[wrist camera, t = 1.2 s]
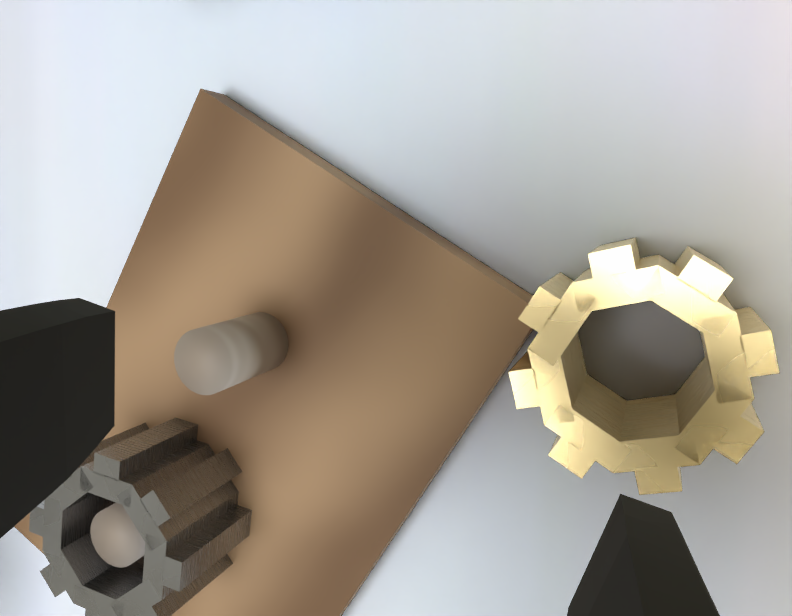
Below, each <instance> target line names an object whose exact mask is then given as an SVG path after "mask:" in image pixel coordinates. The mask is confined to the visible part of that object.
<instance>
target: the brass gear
mask: <svg viewBox="0 0 792 616" xmlns="http://www.w3.org/2000/svg"><path fill="white" fill-rule="evenodd" d="M588 257H589V262H590V267H591V268H590V269H587V270H586V271H585V272H583V273H582V274H581V275H580V276H579V277H578V278H577V279H576V280H574V281H573V280H572V279H570V278H568V277H567V276H565V275H564V274H562V273H561V272H560V273H559V274H557V275H556V276H554V277H553V278H551V279H550V280H548V281H547V282H545V283H544V284H542V285H541V286H539V288H538V289H537V291H536V292H535V294H534V295H533V297H532V298H531V300H530V302H529V303H528V305H527V306H526V308H525V309H524V311H523V312H522V314H521V315H520V317H519V318H518V319H519V320H520V321H522V322H523V323H525V324H526V325H528V326H529V327H531V328H532V329H534V330H535V331H537V332H538V334H537V335H536V337H535V338H534V340H533V341H532V343H531V344H530V346H529V347H528V351H527V352H526V353H525V354H524V355H523V356H522V358H521V359H520V360H519V361H518V362H517V363H516V364H515V365H514V366H513V367H512V369H511V370H510V371H509V376H510V381H511V385H512V390H513V394H514V399H515V403H516V408H517V409H521V408H529V407H536V406H540V408H541V413H542V417H543V422H544V425H545V426H546V427H548V428H549V429H550V430H552V431H553V432H555V433H556V434H557V437H556V439H555V441H554V443H553V446H552V448H551V450H550V452H549V456H550V457H551V458H553V459H554V460H556V461H557V462H558V463H560V464H561V465H563V466H564V467H566V468H567V469H568V470H570V471H571V472H573V473H574V474H575V475H577V476H578V477H580V478H581V479H582V478H583V476H584V475H585V474H586V472H587V471H588V470H589V469H590V467H591V466H592V465H593V463H594V462H595V461H596V462H598V463H599V464H601V465H602V466H603V467H605V468H606V469H608V470H609V471H611V472H612V473H620V472H631V471H634V472H635V477H636V481H637V486H638V491H639V495H643V494H655V493H667V492H679V491H682V481H681V468H680V467H683V466H694V465H700V464H701V463H702V462H703V461H704V459H705V458H706V457H707V456H708V455H709V453H710V452H711V451H712V450H713V449H715V450H716V451H718V452H719V453H721V454H722V455H724V456H725V457H727V458H728V459H730V460H731V461H733V462H734V463H736V464H738V462H739V461H740V460H741V459H742V458H743V456H744V455H745V454H746V453H747V452H748V451H749V449H750V448H751V447H752V446H753V445H754V443H755V442H756V441H757V440H758V439H759V438H760V436H761V435H762V434H763V433H764V430H763V428H762V425H761V423H760V421H759V419H758V417H757V415H756V412H755V410H754V408H753V406H752V404H751V402H752V401H753V400H754V395H753V390H752V385H751V380H750V377H756V376H763V375H771V374H778V373H779V368H778V362H777V357H776V352H775V347H774V342H773V337H772V332H771V330H770V329H769V327H768V326H767V325H766V324H765V323H764V322H763V321H762V320H761V318H760V317H759V316H758V315H757V314H756V313H755V312H754V311H753V309H752V308H751V307H746V308H740V309H735V310H734V308H733V307H732V306H731V304H730V303H729V301H728V300H727V299H726V297H725V296H724V294H723V292H724V291H725V289H726V288H727V287H728V285H729V284H730V283H731V281H732V280H733V278H732V277H731V276H730V275H729V274H728V273H727V272H726V271H725V270H724V269H723V268H722V267H721V266H720V265H719V264H717V263H716V262H714V261H712V260H711V259H709V258H707V257H706V256H704V255H702V254H701V253H699V252H697V251H696V250H694V249H692V248H691V247H689V246H687V248H686V249H685V250H684V252H683V253H682V254H681V256H680V257H679V259H678V260H677V261H676V263H675V264H674V263H672V262H670V261H669V260H667V259H666V258H664V257H662V256H661V255H659V254H658V255H653V256H648V257H643V258H640V255H639V250H638V246H637V241H636V238H632V239H627V240H622V241H618V242H613V243H609V244H604V245H600V246H599V247H597V248H596V249H594V250H593V251H591V252H590V253H588ZM649 300H651V301H653V302H655V303H656V304H658V305H659V306H661V307H663V308H664V309H666V310H667V311H669V312H671V313H672V314H674V315H675V316H677V317H679V318H680V319H682V320H683V321H685V322H687V323H688V324H690V325H691V326H693V327H695V328H696V329H698V330H699V331H700V335H701V340H702V344H703V349H704V354H705V357H704V358H703V360H702V361H701V362H700V363H699V365H698V366H697V367H696V369H695V370H694V371H693V372H692V374H691V375H690V376H689V378H688V379H687V380H686V381H685V383H684V384H683V385H682V387H681V388H680V389H679V391H678V392H677V393H676V394H673V395H665V396H658V397H650V398H643V399H635V400H628V401H627V400H625V399H624V398H622V397H621V396H619V395H618V394H616V393H615V392H613V391H612V390H610V389H609V388H607V387H606V386H604V385H603V384H601V383H600V382H598V381H597V380H595V379H594V378H592V377H591V376H589V375H588V374H587V371H586V367H585V362H584V357H583V353H582V348H581V343H580V339H579V334H578V330H579V329H580V327H581V326H582V324H583V323H584V322H585V320H586V319H587V317H588V316H589V314H590V313H591V311H595V310H600V309H606V308H611V307H616V306H622V305H627V304H633V303H638V302H644V301H649Z"/></svg>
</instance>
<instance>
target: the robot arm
mask: <svg viewBox="0 0 792 616" xmlns="http://www.w3.org/2000/svg"><path fill="white" fill-rule="evenodd" d="M114 426H115V311H113V310H111V309H108V308H105V307H102V306H100V305H97V304H94V303H91V302H89V301H86V300H83V299H80V298H76V299H67V300H58V301H51V302H45V303H39V304H33V305H28V306H23V307H17V308H12V309H7V310H2V311H0V538H1V537H2V536H3V535H5V534H6V533H7V532H8V531H9V530H10V529H12V528H13V527H14V526H15V525H16V524H17V523H19V522H20V521H21V520H22V519H23V518H24V517H25V516H27V515H28V514H29V513H30V512H31V511H32V510H33V509H34V508H36V507H37V506H38V505H39V504H40V503H41V502H42V501H44V500H45V499H46V498H47V497H48V496H49V495H50V494H52V493H53V492H54V491H55V490H56V489H57V488H58V487H59V486H60V485H62V484H63V483H64V482H65V481H66V480H67V479H68V478H69V477H70V476H71V475H72V474H73V473H74V471H75V470H76V469H77V468H78V467H79V466H80V465H81V464H82V463H83V462H84V461H85V460H86V458H87V457H88V456H89V455H90V454H91V453H92V452H93V450H94V449H95V448H96V447H97V446H98V445H99V443H100V442H101V441H102V440H103V439H104V438H105V436H106V435H107V434H108V433H109V432H110V431H111V429H112V428H113V427H114ZM567 616H720V615H719V613H718V611H717V609H716V607H715V605H714V602H713V600H712V598H711V596H710V594H709V592H708V590H707V588H706V586H705V583H704V581H703V579H702V577H701V575H700V573H699V570H698V568H697V566H696V564H695V562H694V560H693V557H692V555H691V553H690V551H689V549H688V546H687V544H686V542H685V540H684V538H683V536H682V533H681V531H680V529H679V527H678V525H677V523H676V521H675V519H674V517H673V515H672V513H671V512H669V511H666V510H663V509H661V508H658V507H655V506H652V505H650V504H647V503H644V502H641V501H639V500H636V499H633V498H630V497H628V496H625V495H622V494H620V496H619V499H618V501H617V503H616V505H615V507H614V509H613V512H612V514H611V516H610V518H609V520H608V523H607V525H606V527H605V529H604V531H603V533H602V536H601V538H600V540H599V542H598V544H597V547H596V549H595V551H594V553H593V555H592V558H591V560H590V562H589V564H588V566H587V568H586V571H585V573H584V575H583V577H582V579H581V582H580V584H579V586H578V588H577V590H576V592H575V595H574V597H573V599H572V601H571V603H570V606H569V608H568V614H567Z"/></svg>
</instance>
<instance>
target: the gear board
mask: <svg viewBox="0 0 792 616" xmlns="http://www.w3.org/2000/svg"><path fill="white" fill-rule="evenodd" d="M532 297H533V295H531V294H530V293H528V292H526V291H525V290H523V289H522V288H520V287H519V286H517V285H516V284H514V283H513V282H511V281H510V280H508V279H506V278H505V277H503V276H502V275H500V274H499V273H497V272H496V271H494V270H493V269H491V268H490V267H488V266H487V265H485V264H483V263H482V262H480V261H479V260H477V259H476V258H474V257H473V256H471V255H470V254H468V253H467V252H465V251H463V250H462V249H460V248H459V247H457V246H456V245H454V244H453V243H451V242H450V241H448V240H447V239H445V238H444V237H442V236H440V235H439V234H437V233H436V232H434V231H433V230H431V229H430V228H428V227H427V226H425V225H424V224H422V223H420V222H419V221H417V220H416V219H414V218H413V217H411V216H410V215H408V214H407V213H405V212H404V211H402V210H401V209H399V208H397V207H396V206H394V205H393V204H391V203H390V202H388V201H387V200H385V199H384V198H382V197H381V196H379V195H377V194H376V193H374V192H373V191H371V190H370V189H368V188H367V187H365V186H364V185H362V184H361V183H359V182H358V181H356V180H354V179H353V178H351V177H350V176H348V175H347V174H345V173H344V172H342V171H341V170H339V169H338V168H336V167H334V166H333V165H331V164H330V163H328V162H327V161H325V160H324V159H322V158H321V157H319V156H318V155H316V154H315V153H313V152H311V151H310V150H308V149H307V148H305V147H304V146H302V145H301V144H299V143H298V142H296V141H295V140H293V139H292V138H290V137H288V136H287V135H285V134H284V133H282V132H281V131H279V130H278V129H276V128H275V127H273V126H272V125H270V124H268V123H267V122H265V121H264V120H262V119H261V118H259V117H258V116H256V115H255V114H253V113H252V112H250V111H249V110H247V109H245V108H244V107H242V106H241V105H239V104H238V103H236V102H235V101H233V100H232V99H230V98H229V97H227V96H225V95H224V94H220V93H216V92H212V91H208V90H204V89H200V91H199V94H198V96H197V98H196V101H195V103H194V105H193V108H192V110H191V112H190V115H189V117H188V119H187V121H186V124H185V126H184V128H183V131H182V133H181V135H180V138H179V140H178V142H177V145H176V147H175V149H174V152H173V154H172V156H171V159H170V161H169V163H168V166H167V168H166V170H165V173H164V175H163V177H162V180H161V182H160V184H159V187H158V189H157V191H156V194H155V196H154V198H153V200H152V203H151V205H150V207H149V210H148V212H147V214H146V217H145V219H144V221H143V224H142V226H141V228H140V231H139V233H138V235H137V238H136V240H135V242H134V245H133V247H132V249H131V252H130V254H129V256H128V259H127V261H126V263H125V266H124V268H123V270H122V273H121V275H120V277H119V279H118V282H117V284H116V286H115V289H114V291H113V293H112V296H111V298H110V300H109V303H108V305H107V307H106V308H108V309H111V310H113V311H115V426H114V427H113V428H112V429H111V431H110V432H109V433H108V434H107V435H106V436H105V438H104V439H103V440H105V439H107V438H110V437H112V436H114V435H117V434H119V433H122V432H124V431H126V430H129V429H131V428H133V427H136V426H138V425H140V424H143V423H146V424H147V426H148V427H149V429H150V428H153V427H155V426H157V425H159V424H162V423H164V422H166V421H169V420H171V419H173V418H178V419H182V420H185V421H188V422H192V423H195V424H198V432H197V441H201V442H204V443H207V444H209V445H210V447H211V449H212V450H213V452H214V453H215V455H216V454H218V453H220V452H221V451H223V450H225V449H227V448H228V450H229V451H230V453H231V454H232V456H233V458H234V459H235V461H236V462H237V464H238V466H239V467H240V469H241V470H242V473H240V474H239V475H237V476H236V477H234V478H233V479H231V480H232V482H233V484H234V485H235V487H236V488H237V490H238V492H239V495H238V504H237V505H239V506H242V507H245V508H247V509H250V510H252V515H251V525H250V534H249V536H248V537H247V538H246V539H244V540H243V541H242V542H241V543H239V544H238V545H237V546H236V547H235V548H233V549H232V550H231V551H230V552H228V553H227V554H228V556H229V558H230V559H231V561H232V562H233V564H232V565H231V566H230V567H228V568H227V569H226V570H225V571H224V572H222V573H221V574H220V575H219V576H218V577H216V578H215V579H214V580H213V581H212V582H210V583H209V584H208V585H207V586H206V587H205V588H203V589H202V590H201V591H200V592H199V593H197V594H196V595H195V596H194V597H193V598H191V599H190V600H189V601H188V602H187V603H185V604H184V605H183V606H182V607H181V608H180V609H178V610H177V611H176V612H175V613H174V614H172V615H171V616H342V614H343V613H344V611H345V610H346V608H347V607H348V605H349V604H350V602H351V601H352V599H353V598H354V596H355V595H356V593H357V592H358V590H359V589H360V587H361V586H362V584H363V583H364V581H365V580H366V578H367V577H368V575H369V574H370V572H371V571H372V569H373V568H374V566H375V565H376V563H377V562H378V560H379V559H380V557H381V556H382V554H383V553H384V551H385V550H386V548H387V547H388V545H389V544H390V542H391V541H392V539H393V538H394V536H395V535H396V533H397V532H398V530H399V529H400V527H401V526H402V525H403V523H404V522H405V520H406V519H407V517H408V516H409V514H410V513H411V511H412V510H413V508H414V507H415V505H416V504H417V502H418V501H419V499H420V498H421V496H422V495H423V493H424V492H425V490H426V489H427V487H428V486H429V484H430V483H431V481H432V480H433V478H434V477H435V475H436V474H437V472H438V471H439V469H440V468H441V466H442V465H443V463H444V462H445V460H446V459H447V457H448V456H449V454H450V453H451V451H452V450H453V448H454V447H455V445H456V444H457V442H458V441H459V439H460V438H461V436H462V435H463V433H464V432H465V430H466V429H467V428H468V426H469V425H470V423H471V422H472V420H473V419H474V417H475V416H476V414H477V413H478V411H479V410H480V408H481V407H482V405H483V404H484V402H485V401H486V399H487V398H488V396H489V395H490V393H491V392H492V390H493V389H494V387H495V386H496V384H497V383H498V381H499V380H500V378H501V377H502V375H503V374H504V372H505V371H506V369H507V368H508V366H509V365H510V363H511V362H512V360H513V359H514V357H515V356H516V354H517V353H518V351H519V350H520V348H521V347H522V345H523V344H524V342H525V341H526V339H527V338H528V336H529V335H530V333H531V332H532V331H533V329H532V328H531V327H529V326H528V325H526V324H525V323H523V322H522V321H520V320H519V319H518V318H519V317H520V315H521V314H522V312H523V311H524V309H525V308H526V306H527V305H528V303H529V302H530V300H531V298H532ZM103 440H102V441H103ZM29 521H30V513H29V514H28V515H27V516H25V517H24V518H23V519H22V520H21V521H20V522H19V523H17V524H16V525H15V526H14V527H15V528H16V529H17V530H18V531H20V532H21V533H22V534H23V535H24V536H25V537H26V538H27V539H28V540H29V541H30V542H31V543H33V544H34V545H35V546H36V547H37V548H38V549H39V550H40V551H41V552H42V553H43V551H42V548H43V537H42V536H40V535H37V534H35V533H32V532H30V531H29ZM91 539H92V543H93V545H94V548H95V550H96V551H97V553H98V554H99V556H100V557H101V558H102V559H103V560H104V561H105V562H107V563H108V564H110V565H112V566H115V567H127V566H129V565H131V564H132V563H134V562H135V561H137V560H138V559H140V558H141V557H143V556H144V554H145V541H144V540H143V538H142V537H141V535H140V533H139V532H138V530H137V528H136V527H135V525H134V523H133V522H132V520H131V519H130V517H129V515H128V514H127V512H126V510H125V509H124V507H123V505H121V504H119V503H114V504H112V505H111V506H109V507H107V508H105V509H103V510H102V511H100V512H98V513H97V514H96V515H95V517H94V518H93V520H92V523H91ZM43 554H44V553H43ZM44 555H45V554H44Z"/></svg>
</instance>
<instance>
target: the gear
mask: <svg viewBox="0 0 792 616" xmlns="http://www.w3.org/2000/svg"><path fill="white" fill-rule="evenodd" d="M197 432H198V424H195V423H192V422H188V421H185V420H182V419H178V418H173V419H171V420H169V421H166V422H164V423H162V424H159V425H157V426H155V427H153V428H150V429H149V427H148V426H147V424H146V423H143V424H140V425H138V426H136V427H133V428H131V429H129V430H126V431H124V432H122V433H119V434H117V435H114V436H112V437H110V438H107V439H105V440H103V441H101V442H100V443H99V445H98V446H97V447H96V448H95V449H94V450H93V452H92V453H91V454H90V455H89V456H88V457H87V458H86V460H85V461H84V462H83V463H82V464H81V465H80V466H79V467H78V468H77V469H76V470H75V471H74V473H73V474H72V475H71V476H70V477H69V478H68V479H67V480H66V481H65V482H64V483H63V484H62V485H60V486H59V487H58V488H57V489H56V490H55V491H54V492H53V493H52V494H50V495H49V496H48V497H47V498H46V499H45V500H44V501H42V502H41V503H40V504H39V505H38V506H37V507H36V508H34V509H33V510H32V511H31V512H30V521H29V531H30V532H32V533H35V534H37V535H40V536H42V537H43V548H42V551H43V553H44V554H45V556H46V558H47V559H48V561H49V563H50V565H48V566H47V567H45V568H44V569H43V570H41V571H40V572H41V574H42V576H43V577H44V579H45V581H46V582H47V584H48V586H49V588H50V589H51V591H52V593H53V594H54V596H55V597H56V596H58V595H59V594H61V593H62V592H64V591H65V590H66V591H67V593H68V595H69V596H70V598H71V600H72V601H73V603H74V604H76V605H79V606H81V607H83V608H85V609H86V612H85V616H171V615H172V614H174V613H175V612H176V611H177V610H178V609H180V608H181V607H182V606H183V605H184V604H185V603H187V602H188V601H189V600H190V599H191V598H193V597H194V596H195V595H196V594H197V593H199V592H200V591H201V590H202V589H203V588H205V587H206V586H207V585H208V584H209V583H210V582H212V581H213V580H214V579H215V578H216V577H218V576H219V575H220V574H221V573H222V572H224V571H225V570H226V569H227V568H228V567H230V566H231V565H232V564H233V562H232V561H231V559H230V558H229V556H228V554H227V553H228V552H230V551H231V550H232V549H233V548H235V547H236V546H237V545H238V544H239V543H241V542H242V541H243V540H244V539H246V538H247V537H248V536H249V534H250V525H251V515H252V510H250V509H247V508H245V507H242V506H239V505H237V504H238V495H239V492H238V490H237V488H236V487H235V485H234V484H233V482H232V480H231V479H233V478H234V477H236V476H237V475H239V474H240V473H242V470H241V469H240V467H239V466H238V464H237V462H236V461H235V459H234V458H233V456H232V454H231V453H230V451H229V450H228V448H227V449H225V450H223V451H221V452H220V453H218V454H216V455H215V453H214V452H213V450H212V449H211V447H210V445H209V444H207V443H204V442H201V441H197ZM114 503H119V504H121V505H123V507H124V509H125V510H126V512H127V514H128V515H129V517H130V519H131V520H132V522H133V523H134V525H135V527H136V528H137V530H138V532H139V533H140V535H141V537H142V538H143V540H144V541H145V554H144V556H143V557H141V558H140V559H138V560H137V561H135V562H134V563H132V564H131V565H129V566H127V567H115V566H112V565H110V564H108V563H107V562H105V561H104V560H103V559H102V558H101V557H100V556H99V554H98V553H97V551H96V550H95V548H94V545H93V543H92V539H91V523H92V520H93V518H94V517H95V515H96V514H97V513H98V512H100V511H102V510H103V509H105V508H107V507H109V506H111V505H112V504H114Z"/></svg>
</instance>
